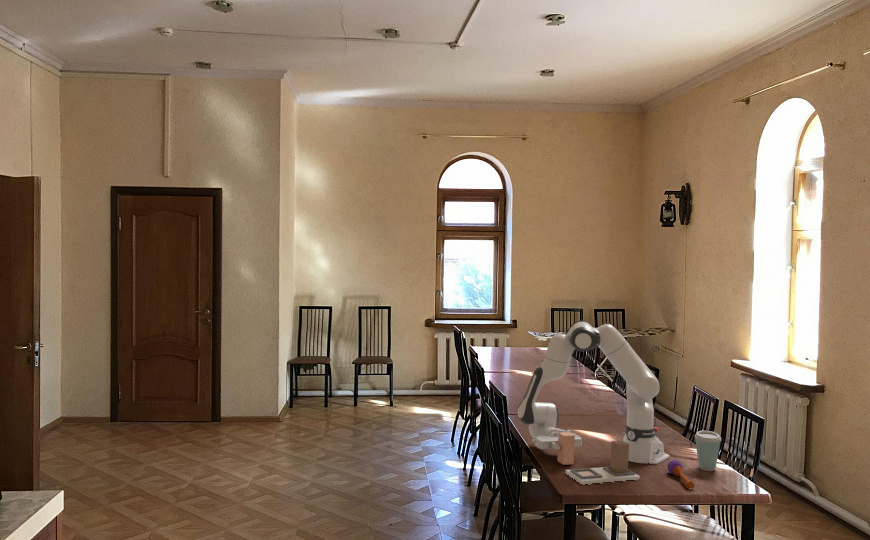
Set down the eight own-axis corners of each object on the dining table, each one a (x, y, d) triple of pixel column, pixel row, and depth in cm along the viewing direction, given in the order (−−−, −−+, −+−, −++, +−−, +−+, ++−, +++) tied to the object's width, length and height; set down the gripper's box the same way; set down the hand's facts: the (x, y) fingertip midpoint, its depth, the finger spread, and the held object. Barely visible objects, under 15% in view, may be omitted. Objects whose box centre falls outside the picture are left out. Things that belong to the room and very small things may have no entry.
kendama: (681, 479, 267) (664, 458, 287) (683, 494, 268) (666, 472, 288) (697, 477, 267) (679, 456, 287) (698, 491, 268) (680, 470, 288)
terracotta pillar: (567, 460, 295) (569, 432, 294) (573, 463, 290) (574, 435, 290) (557, 460, 293) (558, 432, 293) (563, 464, 289) (564, 436, 288)
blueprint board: (621, 469, 288) (622, 437, 288) (639, 480, 276) (641, 446, 275) (565, 473, 280) (567, 440, 279) (582, 485, 268) (583, 450, 267)
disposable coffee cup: (722, 474, 287) (724, 438, 287) (694, 471, 289) (696, 435, 289) (717, 466, 298) (719, 431, 297) (690, 463, 300) (692, 429, 299)
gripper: (530, 432, 300) (545, 441, 287) (572, 429, 307) (588, 438, 294) (529, 446, 301) (544, 456, 287) (571, 443, 307) (588, 453, 294)
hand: (567, 447), depth 291 cm, fingers closed on terracotta pillar, 5 cm apart
